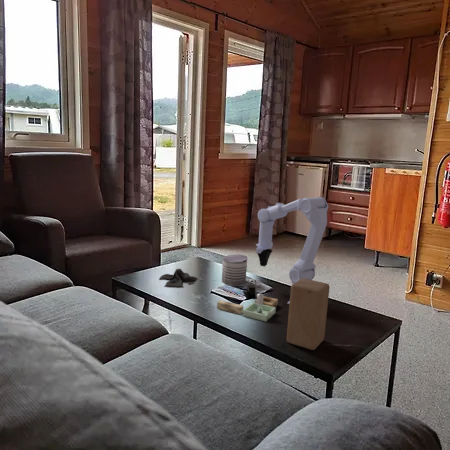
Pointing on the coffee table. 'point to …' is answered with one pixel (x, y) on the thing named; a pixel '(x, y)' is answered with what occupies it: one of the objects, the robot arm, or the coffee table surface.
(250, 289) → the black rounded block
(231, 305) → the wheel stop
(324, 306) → the wooden block
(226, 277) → the can
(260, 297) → the pin
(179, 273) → the cloth
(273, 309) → the tray
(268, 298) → the pin socket
